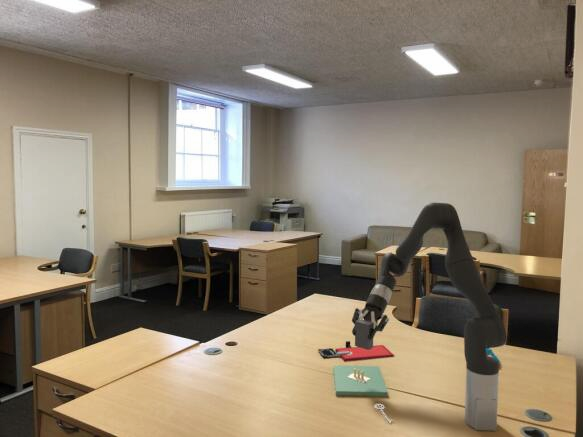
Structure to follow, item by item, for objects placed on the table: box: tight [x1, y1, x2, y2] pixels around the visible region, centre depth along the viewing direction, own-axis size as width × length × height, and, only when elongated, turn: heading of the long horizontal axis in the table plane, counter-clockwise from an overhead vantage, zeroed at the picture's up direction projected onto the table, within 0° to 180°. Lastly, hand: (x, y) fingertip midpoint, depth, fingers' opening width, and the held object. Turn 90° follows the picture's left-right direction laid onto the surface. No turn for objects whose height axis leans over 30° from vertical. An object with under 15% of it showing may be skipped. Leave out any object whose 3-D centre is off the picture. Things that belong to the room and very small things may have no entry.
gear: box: [486, 348, 500, 362], centre depth 189 cm, size 11×6×10 cm
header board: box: [332, 364, 389, 397], centre depth 169 cm, size 22×18×4 cm
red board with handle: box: [317, 340, 395, 362], centre depth 197 cm, size 30×3×15 cm
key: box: [374, 403, 391, 424], centre depth 146 cm, size 12×1×3 cm
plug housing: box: [354, 319, 374, 350], centre depth 168 cm, size 3×6×10 cm, turn 48°
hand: (361, 336), depth 166 cm, fingers closed on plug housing, 6 cm apart
